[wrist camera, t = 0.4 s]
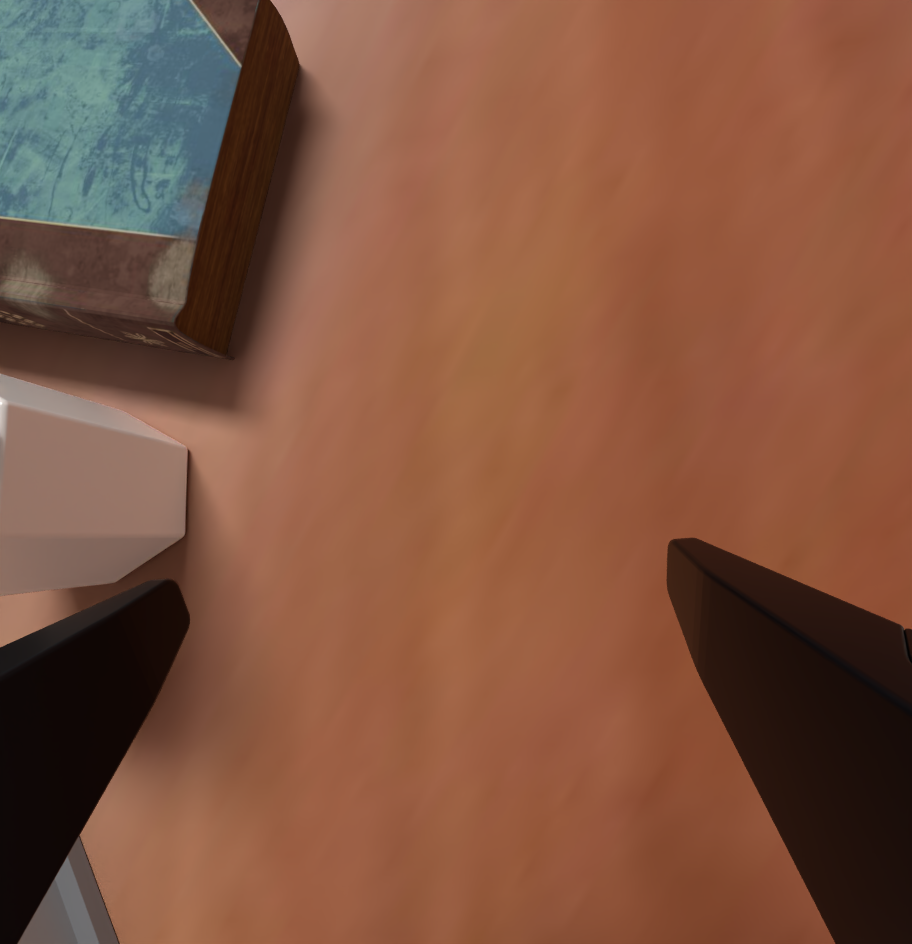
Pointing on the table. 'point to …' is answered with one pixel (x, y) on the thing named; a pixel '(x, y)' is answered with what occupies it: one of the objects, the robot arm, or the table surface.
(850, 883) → the robot arm
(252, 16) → the brown teal box
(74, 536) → the jar
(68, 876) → the dish rack
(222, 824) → the table surface
